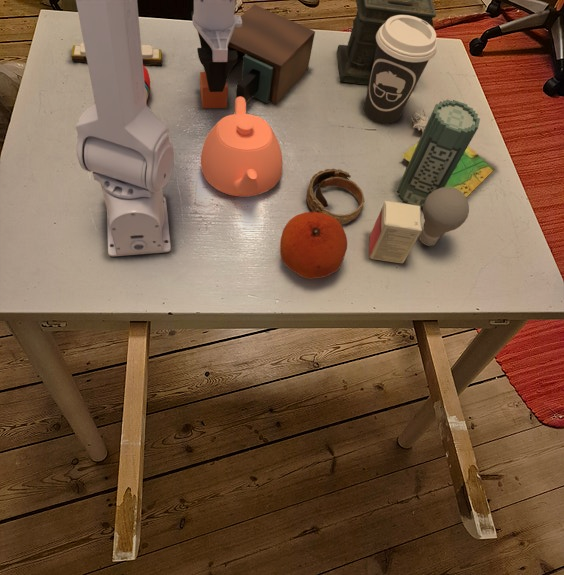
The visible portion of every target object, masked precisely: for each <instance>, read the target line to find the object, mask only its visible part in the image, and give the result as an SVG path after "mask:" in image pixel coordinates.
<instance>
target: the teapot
mask: <svg viewBox="0 0 564 575" xmlns="http://www.w3.org/2000/svg"><path fill="white" fill-rule="evenodd" d="M283 164H284V163H283V153H282V149H281V145H280V143H279V139H278V138H277V136H276V134H275V132H274V130H273V129H272V127H271V126H270V124H269V123H268V122H267V121H266V120H265V119H264V118H262V117H260V116H257V115H254V114H250V113H247V102H246V101H245V99H244V98H243V97H241V96H240V97H237V98H236V97H235V101H234V114H229V115H226V116H224V117H222V118H221V119H219V120H218V121H217V122H216V124H215V125H214V126H213V127H212V128H211V130H210V131H209V132H208V134H207V135H206V137H205V139H204V142H203V145H202V149H201V153H200V170H201V172H202V174H203V177H204V179H205V181H206V182H207V183H208V184H209V185H210V186H211V187H213V188H214V189H215V190H216V191H218V192H220V193H223V194H226V195H229V196H232V197H240V198H241V197H254V196H258V195H261V194H264V193H266V192H268V191H270V190H271V189H273V188H274V187H275V186H276V185H277V184H278V183H279V181H280V180H281V178H282V173H283Z"/></svg>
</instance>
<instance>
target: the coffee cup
mask: <svg viewBox="0 0 564 575" xmlns="http://www.w3.org/2000/svg"><path fill="white" fill-rule="evenodd" d="M376 41H377V48H376V52H375V57H374V62H373V67H372V71H371V76H370V81H369V85H368V86H367V90H366V95H365V100H364V105H363V111H364V113H365V115H366V116H367V117H368V118H369V119H371V120H372V121H374V122H376V123H380V124H386V125H388V124H393V123H396V122H397V121H398V120H399V119H400V117H401V115H402V114H403V112H404V110H405V107H406V105H407V104H408V102H409V100H410V98H411V97H412V94H413V92H414V90H415V88H416V86H417V84H418V82H419V80H420V78H421V76H422V74H423V72H424V71H425V68H426V67H427V65H428V63H429V61H430V60H431V59H433V58H434V57H435V55H436V54H437V49H438V40H437V33H436V30H435V28H434V29H433V27H432V26H431V25H430V24H428V23H427V22H426V21H424V20H422V19H420V18H417V17H414V16H409V15H396V16H393V17H390V18H389V19H388V20H387V21H386V22H385V23H384V24H383V25H382V26H381V27H380V29H379V30H378V32H377V34H376Z"/></svg>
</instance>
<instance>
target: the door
mask: <svg viewBox="0 0 564 575" xmlns="http://www.w3.org/2000/svg"><path fill="white" fill-rule="evenodd" d="M272 73H273V67H271V66H269V65H267V64H265V63H263V62H260V61H258V60H256V59H254V58H252V57H250V56H247V54H245V55H244V56H243V57H242V74H241V79H240V80H239V81H238V82H237V83H236V90H235V91H236V92H235V99H236V98H237V97H240V96H241V97H243V98H244V99H245V101H246V103H248V101H249V100H251V99H252V97H253V98H255V99H257V100H258V101H261V102H263V103H265V104H268V103H270V102H269V97H270V89H271V81H272Z"/></svg>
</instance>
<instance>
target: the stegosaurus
mask: <svg viewBox="0 0 564 575" xmlns="http://www.w3.org/2000/svg"><path fill="white" fill-rule="evenodd" d="M422 113H423V115H422V114H419V113H418V112H417V110H416V111H414V114H415V115H414V116H413V117H412V116H411V117H410V120H411V122H412V124H413V126H412V128H416V129H417V130H418V131H421V132H422V133H423V131H424V129H425V127H426V125H427V123H428V120H429V118H430V116H428V114H427V113H426V111H425V109H422ZM417 117H418V118H417ZM414 119H415V120H414Z"/></svg>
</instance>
